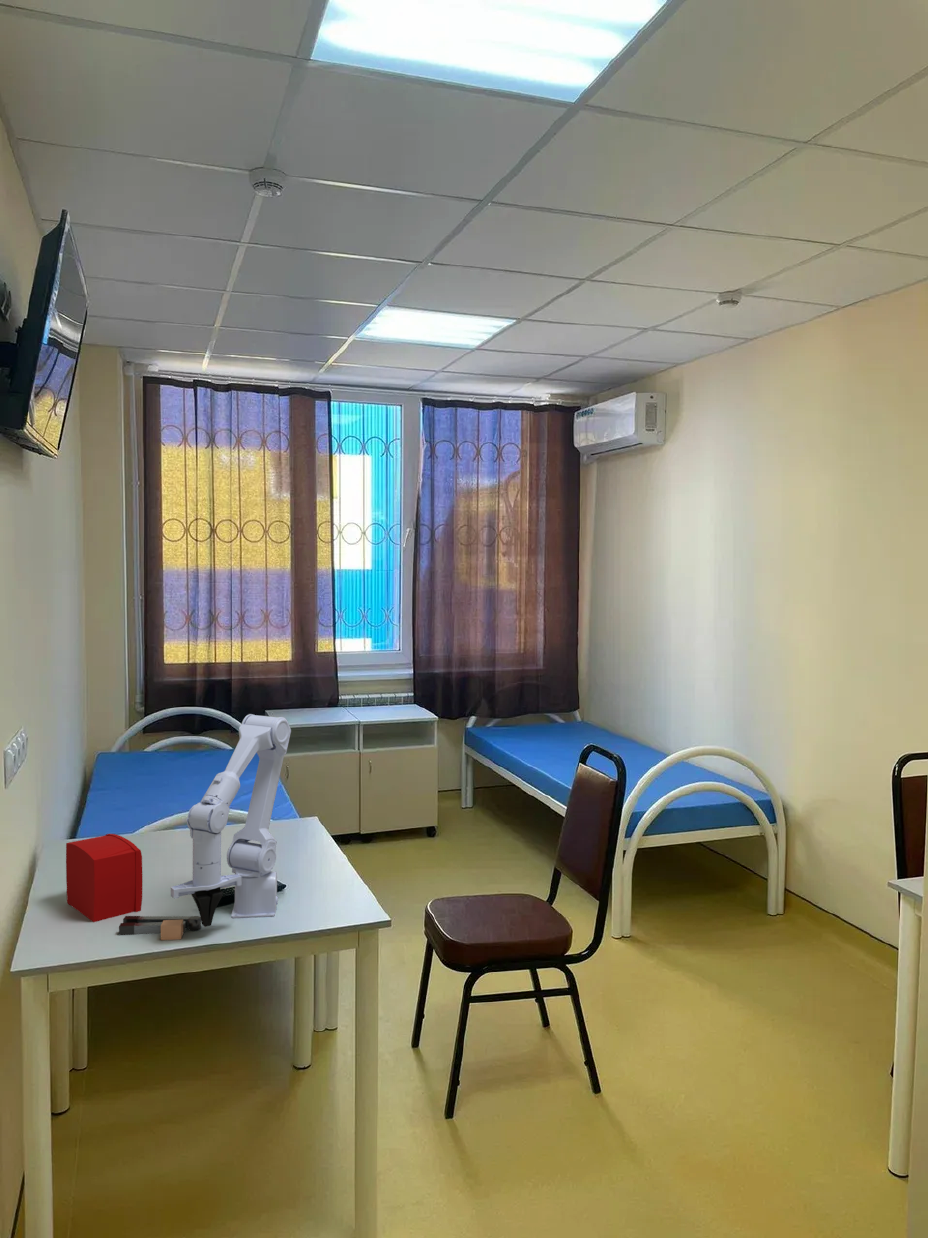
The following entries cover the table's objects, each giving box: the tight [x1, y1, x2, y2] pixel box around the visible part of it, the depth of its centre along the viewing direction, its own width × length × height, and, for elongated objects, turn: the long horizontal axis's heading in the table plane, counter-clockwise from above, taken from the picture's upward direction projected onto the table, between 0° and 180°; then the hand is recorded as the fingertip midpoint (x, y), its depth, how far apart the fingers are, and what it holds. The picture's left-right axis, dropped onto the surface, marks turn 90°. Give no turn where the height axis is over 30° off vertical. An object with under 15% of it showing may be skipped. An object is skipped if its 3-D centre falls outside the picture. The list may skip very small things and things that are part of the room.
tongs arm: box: [122, 915, 202, 932], centre depth 189 cm, size 16×3×2 cm, turn 93°
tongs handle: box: [118, 921, 187, 936], centre depth 187 cm, size 13×2×2 cm, turn 99°
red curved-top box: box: [65, 833, 143, 923], centre depth 201 cm, size 16×11×15 cm
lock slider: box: [160, 920, 184, 941], centre depth 185 cm, size 4×3×3 cm
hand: (206, 924), depth 186 cm, fingers closed
